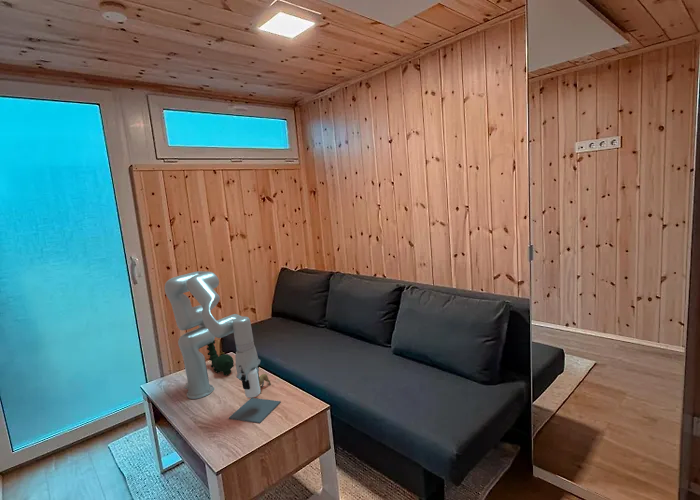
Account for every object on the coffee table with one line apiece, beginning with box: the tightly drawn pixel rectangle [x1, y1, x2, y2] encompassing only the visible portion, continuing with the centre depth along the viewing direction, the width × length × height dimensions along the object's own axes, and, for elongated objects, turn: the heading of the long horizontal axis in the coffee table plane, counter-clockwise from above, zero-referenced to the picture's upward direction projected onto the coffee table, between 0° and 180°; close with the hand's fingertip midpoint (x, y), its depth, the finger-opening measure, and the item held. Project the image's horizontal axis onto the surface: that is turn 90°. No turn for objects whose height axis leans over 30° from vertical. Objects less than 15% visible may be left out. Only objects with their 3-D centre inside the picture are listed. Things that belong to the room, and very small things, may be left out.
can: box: [243, 367, 261, 399], centre depth 165 cm, size 6×6×12 cm
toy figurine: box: [206, 339, 235, 376], centre depth 210 cm, size 9×19×25 cm
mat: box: [228, 397, 282, 424], centre depth 167 cm, size 16×16×1 cm
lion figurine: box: [259, 373, 272, 395], centre depth 184 cm, size 15×5×9 cm, turn 167°
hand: (251, 384), depth 165 cm, fingers closed on can, 6 cm apart
